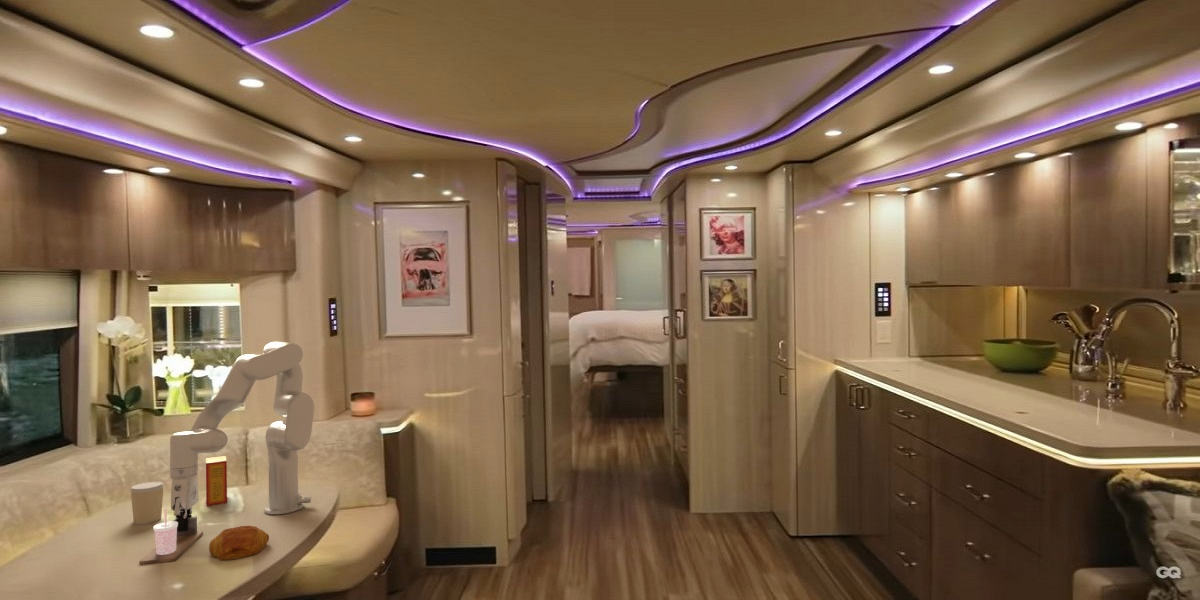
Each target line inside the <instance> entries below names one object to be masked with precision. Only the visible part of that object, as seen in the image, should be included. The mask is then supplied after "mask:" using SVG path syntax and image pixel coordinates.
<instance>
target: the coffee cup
mask: <svg viewBox="0 0 1200 600" xmlns="http://www.w3.org/2000/svg"><path fill="white" fill-rule="evenodd" d="M164 486H165V485H164V483H163V482H162V481H148V482H142V483H138V484H135V485H133V486H131V488H130V495H131V497H130V498H131V507H132V509H131V510H132V518H133V523H134V524H135V523H137V524H136V525H144V524H143V523H146V524H151V523H153V522H154V521H155V522H157V520H158V521H159V519H160V520H161V519H162V512H163V499H164V498H163V496H164ZM150 522H151V523H150ZM155 522H154V523H155Z"/></svg>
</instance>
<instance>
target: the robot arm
mask: <svg viewBox="0 0 1200 600" xmlns="http://www.w3.org/2000/svg"><path fill="white" fill-rule="evenodd" d="M303 357H304V351H303V349H302V347H301V346H300V345H299V344H297V343H295V342H290V341H289V342H288V341H287V342H286V341H285V342H284V341H271V342H269V343H267V344H266V345H265V346H264V348H263V349H262V354H243V355H241V356H239V357H238V358H237V359H236V360H235V361H234V363H233V365H232V367H231V369H230V370H229V372H228V375H227V377H226V379H225V380H224V382H223V384H222V385H221V388H220V389H219V391H218V392H217V394H216V396H215V397H213V399H211V400H210V401H209V403H207V405H206V406H205V407H204V408H203V409H202V410H201V412H200V413H199V414H198V416H197V417H196V419H195V421H194V423H193V424H192V427H191V429H190V431H179V432H175V433H173V434H172V435H170V438H169V479H171V490H170V509H171V511H174V513H173V516H175V519H176V522H178V526H177V532H182V531H187V530H188V518H187V517H193V516H192V514H193V507H194V505H196V504H198V501H199V500H200V499H199V481H198V474H199V454H206V453H207V454H208V453H210V454H211V453H217V452H220V451H222V450H223V449H224V448H225V447H226V446H227V445H228V439H229V438H228V435H227V433H226V432H224V431H223V430H221V429H218V426H219V425H220V424H221V422H222V420H224V418H225V417H226V416H227V415H228V414H230V413H231V412H232V411H234V410H237V409H238V408H240V407H241V406H243V404H245V403H246V400H247V398H248V396H249V394H250V392H251V390H252V389H253V386H254V385H255V383H256V381H264V380H267V379H270V378H273V377H275V376H276V381H275V382H276V383H275V390H274V391H275V392H274V398H273V405H272V406H273V410H274V413H275V414H276V415H278V416H280V417H283V418H286V420H277V421H274V422H272V423H271V424H270V425H269V426H268V427H267V429H266V432H265V436H264V437H265V445H266V449H267V457H268V467H267V468H268V505H266V506H265V507H264V509H263V512H264V513H265V514H268V515H285V514H290V513H291V514H292V513H294V512H297V511H299V510H301V509H303V507H304V504H311V503H312V497H310V496H309V495H308V496H301V493H300V492H299V457H298V456H299V455H298V452H299V451H301V450H303V449H304V448H305V447H306V446H307V445H308V444H309V442H310V440H311V436H312V431H313V430H312V429H313V424H314V423H313V422H314V417H315V416H314V415H315V414H314V413H315V404H314V400H313V398H312V397H311V396H310V395H309V393H307V392H304V391H302V389H303V370H302V369H303V368H302V366H301V364H300V363H301V362H302V360H303Z"/></svg>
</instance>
